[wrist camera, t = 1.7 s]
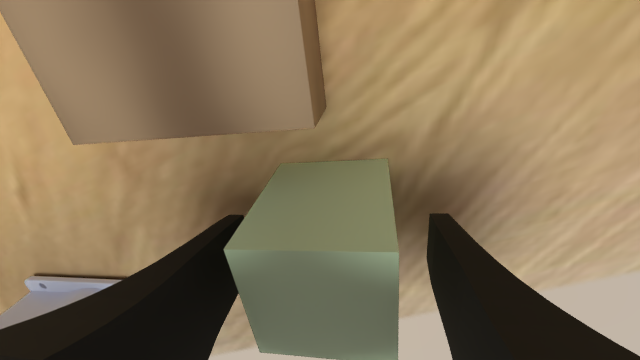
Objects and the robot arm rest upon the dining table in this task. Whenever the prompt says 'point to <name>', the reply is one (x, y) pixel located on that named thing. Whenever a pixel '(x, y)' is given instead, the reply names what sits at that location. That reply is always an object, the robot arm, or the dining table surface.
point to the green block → (321, 262)
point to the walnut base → (172, 65)
